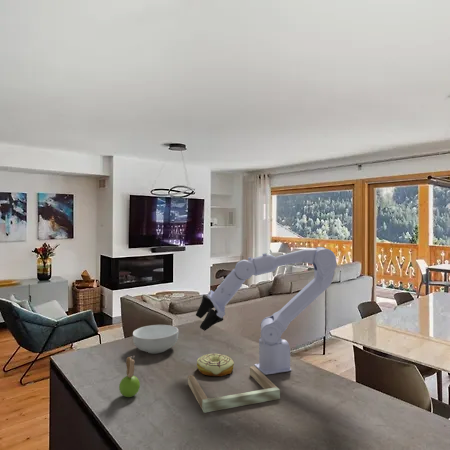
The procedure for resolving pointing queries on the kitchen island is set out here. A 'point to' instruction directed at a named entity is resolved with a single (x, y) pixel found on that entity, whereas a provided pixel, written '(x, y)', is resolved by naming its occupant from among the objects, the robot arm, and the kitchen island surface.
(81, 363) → the kitchen island surface
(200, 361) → the decorated donut
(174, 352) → the kitchen island surface
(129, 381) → the snail figurine
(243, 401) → the wooden bar frame
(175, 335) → the cereal bowl
